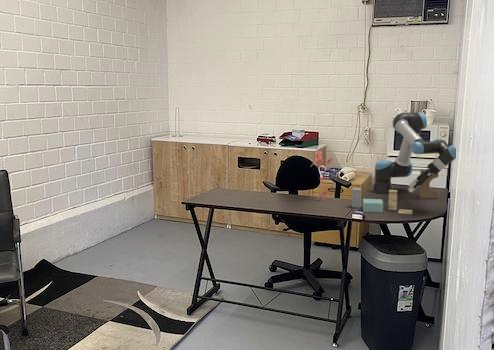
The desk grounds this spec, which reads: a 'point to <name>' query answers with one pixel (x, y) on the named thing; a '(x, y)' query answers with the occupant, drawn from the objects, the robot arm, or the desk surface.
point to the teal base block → (373, 205)
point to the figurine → (318, 162)
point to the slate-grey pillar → (356, 197)
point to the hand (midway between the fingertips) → (409, 189)
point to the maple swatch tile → (405, 211)
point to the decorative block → (428, 187)
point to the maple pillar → (392, 200)
